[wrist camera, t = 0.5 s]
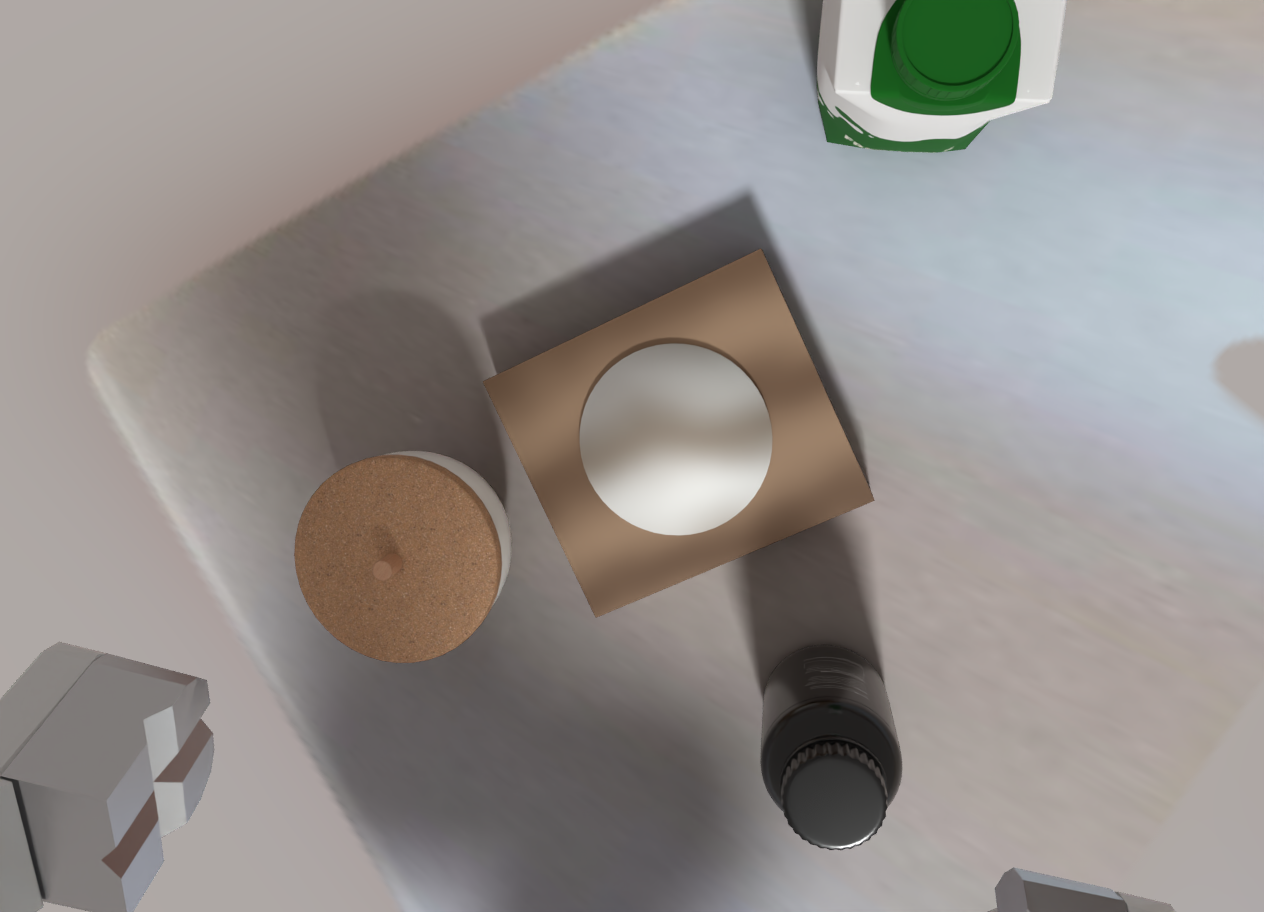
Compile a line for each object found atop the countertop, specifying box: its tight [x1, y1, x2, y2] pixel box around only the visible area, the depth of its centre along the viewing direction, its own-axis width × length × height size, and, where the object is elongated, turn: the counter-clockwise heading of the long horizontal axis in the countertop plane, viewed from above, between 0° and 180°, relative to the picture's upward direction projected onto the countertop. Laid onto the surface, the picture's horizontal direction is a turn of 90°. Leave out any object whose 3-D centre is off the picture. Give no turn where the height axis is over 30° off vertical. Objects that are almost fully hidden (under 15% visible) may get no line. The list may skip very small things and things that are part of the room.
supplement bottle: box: [761, 645, 902, 850], centre depth 55 cm, size 7×7×12 cm
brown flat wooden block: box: [483, 249, 875, 617], centre depth 58 cm, size 14×16×3 cm
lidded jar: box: [294, 451, 512, 663], centre depth 58 cm, size 11×11×9 cm
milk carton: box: [817, 0, 1067, 153], centre depth 46 cm, size 9×9×20 cm
